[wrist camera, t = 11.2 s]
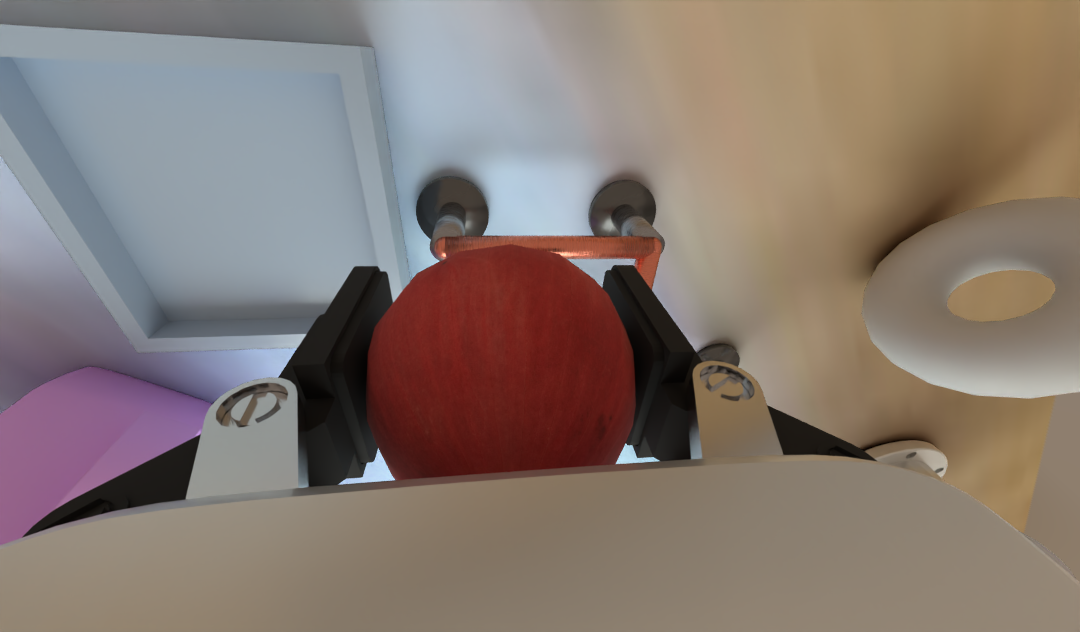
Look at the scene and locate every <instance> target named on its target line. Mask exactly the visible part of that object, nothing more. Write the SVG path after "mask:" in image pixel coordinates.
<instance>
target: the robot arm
mask: <svg viewBox="0 0 1080 632" xmlns="http://www.w3.org/2000/svg"><path fill="white" fill-rule="evenodd" d="M603 289H604V290H605V292H606V293H607V294H608V295H609V297H610V299H611V301H612V303H613V305H614V307H615V309H616V311H617V313H618V315H619V317H620V319H621V321H622V323H623V325H624V327H625V329H626V332H627V335H628V338H629V340H630V343H631V346H632V349H633V355H634V370H635V396H636V407H635V414H634V421H633V426H632V428H631V431H630V433H629V436H628V438H627V441H626V444H627V445H633V448H634V450H635V453H636V456H637V458H644V457H654V458H656V459H658V460H659V462H644V463H629V464H614V465H599V466H585V467H570V468H556V469H542V470H528V471H514V472H501V473H487V474H473V475H460V476H446V477H433V478H420V479H407V480H394V481H381V482H368V483H355V484H343V485H338V484H339V483H341V482H342V481H343V480H345V479H346V478H361V477H363V474H364V470H365V467H366V463H367V462H373V461H374V460H375V457H376V453H377V450H378V446H377V444H376V442H375V439H374V437H373V434H372V432H371V429H370V427H369V424H368V421H367V410H366V381H367V362H368V351H369V347H370V343H371V339H372V336H373V332H374V328H375V326H376V325H377V323H378V322H379V321H380V319H381V318H382V317H383V316H384V314H385V313H386V312H387V310H388V309H389V308H390V306H391V305H392V304H393V299H392V294H391V288H390V283H389V278H388V274H387V272H386V271H380V269H379V267H378V266H355V267H354V268H353V269H352V271H351V272H350V274H349V275H348V277H347V279H346V280H345V282H344V283H343V285H342V287H341V288H340V290H339V291H338V293H337V294H336V296H335V298H334V299H333V301H332V302H331V304H330V306H329V307H328V309H327V310H326V312H325V313H324V314H322V315H319V317H318V318H317V319H316V320H315V322H314V323H313V325H312V327H311V328H310V330H309V331H308V333H307V334H306V336H305V337H304V339H303V340H302V342H301V343H300V345H299V347H298V348H297V350H296V351H295V353H294V354H293V356H292V357H291V359H290V360H289V362H288V363H287V365H286V367H285V368H284V370H283V371H282V373H281V374H280V376H279V377H278V378H270V377H269V378H262V379H256V380H253V381H250V382H247V383H244V384H241V385H239V386H237V387H235V388H233V389H231V390H229V391H228V392H226V393H225V394H223V395H222V396H221V397H219V398H218V399H217V400H216V401H215V402H214V403H213V404H212V405H211V406H210V408H209V410H208V412H207V414H206V416H205V420H204V424H203V428H202V432H201V434H200V435H198V436H196V437H194V438H192V439H190V440H188V441H186V442H184V443H182V444H180V445H178V446H176V447H174V448H172V449H170V450H169V451H167V452H165V453H163V454H161V455H159V456H157V457H155V458H153V459H151V460H149V461H147V462H145V463H143V464H141V465H139V466H137V467H135V468H133V469H131V470H129V471H127V472H125V473H123V474H121V475H119V476H117V477H115V478H113V479H111V480H109V481H107V482H105V483H103V484H101V485H99V486H97V487H95V488H93V489H92V490H90V491H88V492H86V493H84V494H82V495H80V496H78V497H76V498H74V499H72V500H70V501H68V502H67V503H65V504H63V505H62V506H60V507H58V508H56V509H55V510H53V511H52V512H50V513H49V514H48V515H46V516H45V517H44V518H42V519H41V520H40V521H38V522H37V523H36V524H35V525H33V526H32V527H31V528H30V530H29V531H28V532H27V533H26V534H25V535H24V536H23V537H22V538H20V539H17V540H14V541H11V542H8V543H5V544H2V545H0V632H1080V582H1078V581H1077V579H1076V578H1075V576H1074V575H1073V573H1072V572H1071V570H1070V569H1069V568H1068V567H1067V566H1066V565H1065V564H1064V563H1063V562H1062V561H1061V560H1060V559H1059V558H1058V557H1057V556H1056V555H1055V554H1053V552H1051V551H1050V550H1049V549H1047V548H1046V547H1044V546H1043V545H1042V544H1040V543H1039V542H1038V541H1036V540H1034V539H1033V538H1031V537H1029V536H1027V535H1025V534H1024V533H1022V532H1020V531H1018V530H1016V529H1015V528H1014V527H1013V526H1011V525H1010V524H1009V523H1007V522H1006V521H1005V520H1004V519H1002V518H1001V517H1000V516H998V515H997V514H996V513H995V512H993V511H992V510H991V509H989V508H988V507H987V506H985V505H984V504H982V503H981V502H979V501H978V500H976V499H975V498H973V497H972V496H971V495H969V494H967V493H965V492H964V491H962V490H960V489H958V488H956V487H954V486H952V485H950V484H948V483H947V482H946V481H945V480H943V479H942V476H943V475H944V473H945V471H946V468H947V458H946V456H945V455H944V454H943V453H942V452H941V451H940V450H939V449H937V448H936V447H935V446H934V445H933V444H930V443H928V442H924V441H916V440H908V441H898V442H892V443H887V444H884V445H880V446H876V447H873V448H871V449H868V450H865V451H863V450H861V449H860V448H858V447H856V446H854V445H852V444H850V443H848V442H846V441H844V440H842V439H839V438H837V437H835V436H833V435H831V434H828V433H826V432H824V431H822V430H820V429H818V428H815V427H813V426H811V425H809V424H807V423H805V422H802V421H800V420H798V419H796V418H794V417H791V416H789V415H787V414H785V413H783V412H781V411H778V410H776V409H774V408H772V407H770V406H768V405H767V404H766V401H765V397H764V394H763V391H762V389H761V387H760V385H759V383H758V382H757V381H756V380H755V379H754V378H753V377H752V376H751V375H750V374H749V373H747V372H746V371H744V370H743V369H741V368H738V367H736V366H734V365H732V364H728V363H725V362H719V361H706V362H703V361H702V360H701V358H700V357H699V356H698V354H697V353H696V351H695V350H694V349H693V347H692V346H691V344H690V343H689V342H688V340H687V339H686V337H685V336H684V335H683V333H682V332H681V330H680V329H679V328H678V326H677V325H676V323H675V322H674V321H673V319H672V318H671V316H670V315H669V314H668V312H667V311H666V310H665V308H664V307H663V306H662V304H661V303H660V301H659V300H658V299H657V297H656V296H655V294H654V293H653V291H652V290H651V289H650V287H649V286H648V284H647V283H646V282H645V280H644V279H643V277H642V276H641V275H640V273H639V272H638V270H637V269H636V268H635V266H633V265H614V266H613V267H612V269H611V270H607V271H606V273H605V276H604V282H603Z"/></svg>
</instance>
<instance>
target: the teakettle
mask: <svg viewBox="0 0 1080 632" xmlns="http://www.w3.org/2000/svg"><path fill="white" fill-rule="evenodd" d="M211 405H212V403H209V402H207V401H204V400H201V399H198V398H195V397H192V396H189V395H186V394H183V393H180V392H177V391H174V390H171V389H168V388H165V387H162V386H159V385H156V384H153V383H149V382H146V381H143V380H140V379H137V378H134V377H131V376H127V375H124V374H120V373H117V372H114V371H110V370H107V369H102V368H97V367H85V368H82V369H79V370H76V371H73V372H70V373H67V374H64V375H62V376H60V377H58V378H55V379H53V380H51V381H49V382H47V383H44V384H42V385H41V386H39V387H37V388H35V389H34V390H32V391H30V392H29V393H28V394H26V395H25V396H24V397H22V398H21V399H20V400H18V401H17V402H16V403H14V404H13V405H12V406H11V407H9V408H8V409H7V410H5V411H4V412H3V413H1V414H0V545H2V544H5V543H8V542H11V541H14V540H17V539H20V538H22V537H23V536H24V535H25V534H26V533H27V532H28V531H29V530H30V528H31V527H32V526H33V525H35V524H36V523H37V522H38V521H40V520H41V519H42V518H44V517H45V516H46V515H48V514H49V513H50V512H52V511H53V510H55V509H56V508H58V507H60V506H62V505H63V504H65V503H67V502H68V501H70V500H72V499H74V498H76V497H78V496H80V495H82V494H84V493H86V492H88V491H90V490H92V489H93V488H95V487H97V486H99V485H101V484H103V483H105V482H107V481H109V480H111V479H113V478H115V477H117V476H119V475H121V474H123V473H125V472H127V471H129V470H131V469H133V468H135V467H137V466H139V465H141V464H143V463H145V462H147V461H149V460H151V459H153V458H155V457H157V456H159V455H161V454H163V453H165V452H167V451H169V450H170V449H172V448H174V447H176V446H178V445H180V444H182V443H184V442H186V441H188V440H190V439H192V438H194V437H196V436H198V435H200V434H201V432H202V428H203V424H204V420H205V416H206V414H207V412H208V410H209V408H210V406H211Z"/></svg>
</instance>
